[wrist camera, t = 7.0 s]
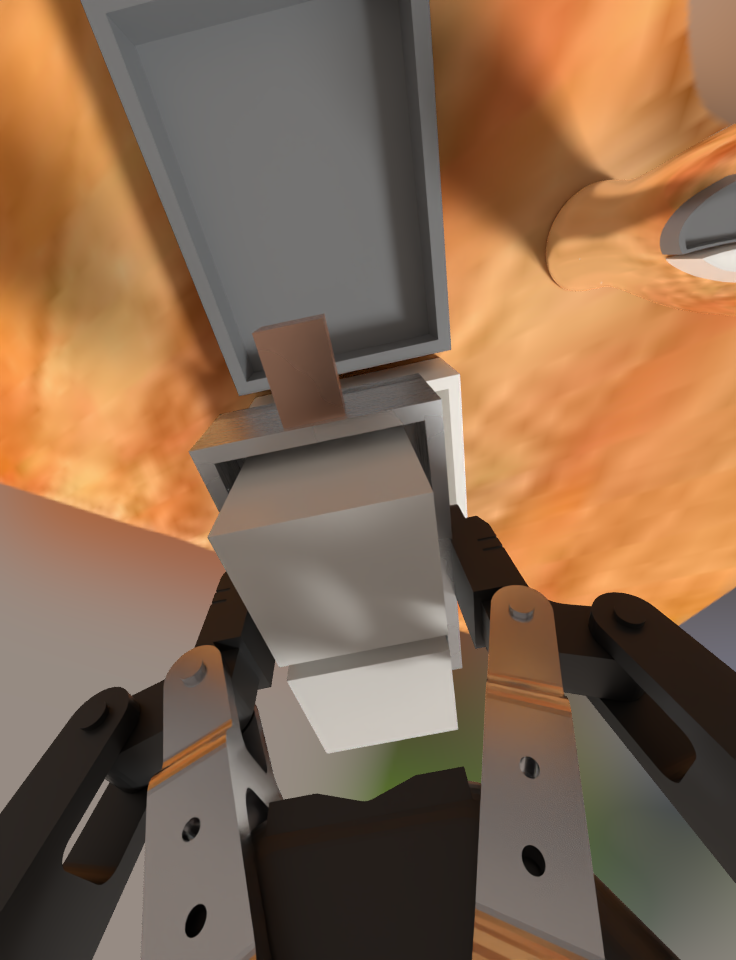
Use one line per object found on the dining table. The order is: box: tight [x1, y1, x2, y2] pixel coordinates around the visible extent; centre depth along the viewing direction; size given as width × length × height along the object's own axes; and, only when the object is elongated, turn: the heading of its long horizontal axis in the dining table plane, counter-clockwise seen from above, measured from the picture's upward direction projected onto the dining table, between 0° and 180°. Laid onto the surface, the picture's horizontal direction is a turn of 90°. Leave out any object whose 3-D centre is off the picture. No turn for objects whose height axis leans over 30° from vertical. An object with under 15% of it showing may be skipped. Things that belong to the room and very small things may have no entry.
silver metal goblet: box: [546, 123, 736, 316], centre depth 17 cm, size 7×7×15 cm
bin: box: [249, 357, 467, 518], centre depth 29 cm, size 16×15×5 cm
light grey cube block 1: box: [208, 425, 448, 667], centre depth 9 cm, size 4×4×4 cm
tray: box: [81, 0, 451, 396], centre depth 20 cm, size 18×15×3 cm
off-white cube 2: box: [287, 636, 458, 753], centre depth 11 cm, size 4×4×4 cm
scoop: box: [189, 314, 462, 670], centre depth 11 cm, size 12×6×2 cm, turn 10°
